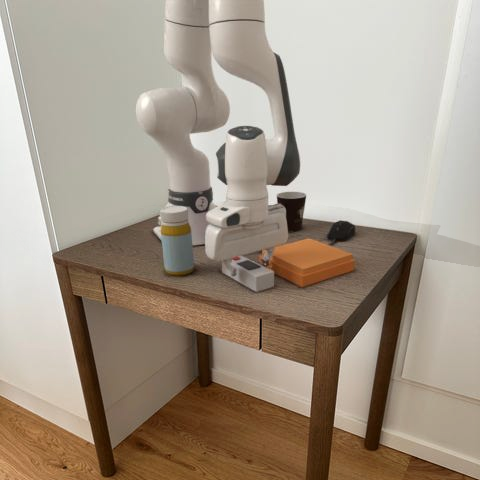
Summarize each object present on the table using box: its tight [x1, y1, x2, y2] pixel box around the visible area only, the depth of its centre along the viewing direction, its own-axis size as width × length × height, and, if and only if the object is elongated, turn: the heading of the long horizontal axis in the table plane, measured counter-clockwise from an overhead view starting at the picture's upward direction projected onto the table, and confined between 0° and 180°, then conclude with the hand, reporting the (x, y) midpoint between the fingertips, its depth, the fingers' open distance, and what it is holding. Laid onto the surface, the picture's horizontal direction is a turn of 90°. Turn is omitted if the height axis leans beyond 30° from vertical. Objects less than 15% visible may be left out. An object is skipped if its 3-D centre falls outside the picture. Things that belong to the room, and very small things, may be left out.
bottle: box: [159, 206, 195, 277], centre depth 107 cm, size 7×7×15 cm
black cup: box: [276, 191, 307, 233], centre depth 135 cm, size 12×9×10 cm
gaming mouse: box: [327, 219, 356, 246], centre depth 129 cm, size 6×15×4 cm, turn 152°
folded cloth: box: [258, 237, 356, 288], centre depth 109 cm, size 16×16×4 cm
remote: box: [221, 255, 275, 293], centre depth 104 cm, size 14×5×4 cm, turn 34°
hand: (249, 270), depth 104 cm, fingers open, 8 cm apart
